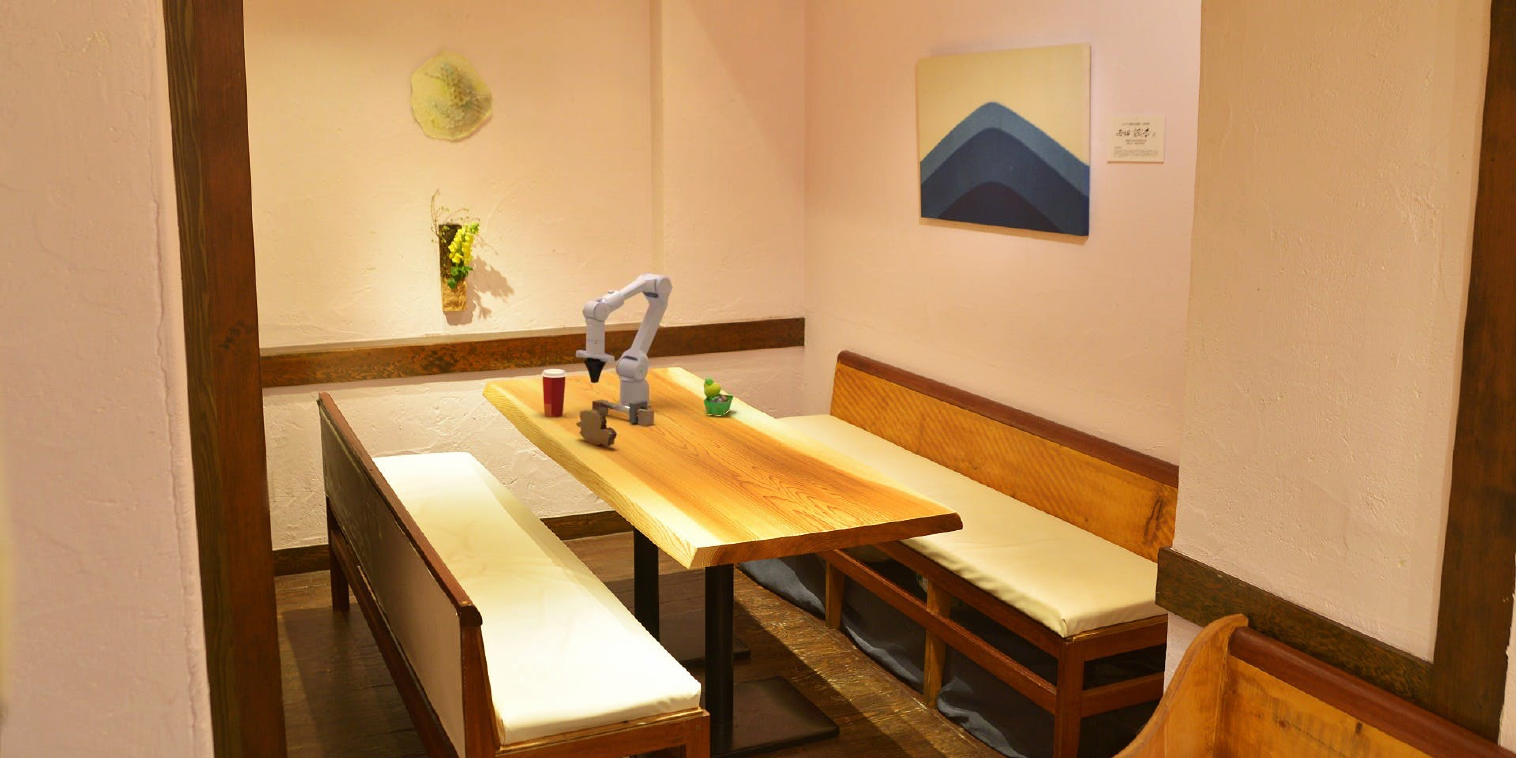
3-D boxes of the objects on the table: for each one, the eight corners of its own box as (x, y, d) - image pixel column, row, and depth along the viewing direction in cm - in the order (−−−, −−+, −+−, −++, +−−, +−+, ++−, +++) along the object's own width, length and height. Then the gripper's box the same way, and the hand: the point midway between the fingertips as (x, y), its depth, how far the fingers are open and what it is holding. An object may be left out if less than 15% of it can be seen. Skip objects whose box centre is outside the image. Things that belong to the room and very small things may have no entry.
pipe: (592, 414, 405) (592, 400, 404) (601, 412, 408) (601, 398, 407) (645, 426, 392) (645, 411, 391) (653, 424, 395) (654, 409, 394)
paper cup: (568, 413, 405) (569, 369, 403) (562, 418, 398) (563, 374, 395) (544, 411, 406) (544, 368, 403) (537, 416, 399) (538, 372, 396)
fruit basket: (725, 418, 407) (727, 383, 405) (698, 416, 409) (699, 381, 407) (733, 410, 418) (735, 376, 416) (707, 408, 420) (708, 374, 418)
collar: (628, 422, 394) (629, 403, 393) (641, 419, 399) (642, 400, 398) (633, 423, 393) (634, 404, 392) (646, 420, 398) (647, 401, 397)
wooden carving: (621, 448, 365) (622, 414, 363) (609, 451, 362) (610, 416, 360) (583, 437, 376) (584, 404, 374) (571, 440, 372) (571, 406, 370)
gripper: (569, 338, 403) (569, 380, 406) (603, 344, 395) (603, 387, 398) (585, 335, 409) (584, 377, 411) (619, 341, 400) (618, 384, 403)
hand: (594, 382), depth 405 cm, fingers closed
